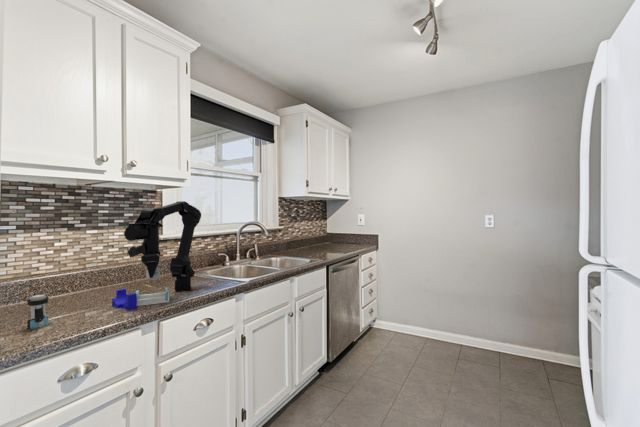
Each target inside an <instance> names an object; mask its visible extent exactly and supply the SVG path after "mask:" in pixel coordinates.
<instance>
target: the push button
mask: <svg viewBox="0 0 640 427" xmlns="http://www.w3.org/2000/svg"><path fill="white" fill-rule="evenodd" d="M49 299H50V297H48V296H46V294H35V295H31V296H30V298H29V299H27V300H26V303H27V306H30V318H29V319H27V323H26V324H27V328H28V329H31V330H34V329H37V328H42V327H44V326H47V325H49V323H50V322H53V321H54V320H52V319H53V317H50V318H49V316H47V314H46V304H48V302H49Z"/></svg>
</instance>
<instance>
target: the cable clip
mask: <svg viewBox="0 0 640 427" xmlns="http://www.w3.org/2000/svg"><path fill="white" fill-rule="evenodd" d="M111 306H112V307H114V308H116V309H121V308H122V309H123V310H126V311H128V312H129V311H132V310H137V308H138V306H137V294H136V293H135V292H133V293H127V289H126V288H120V289H116V290H115V297H113V298H111Z"/></svg>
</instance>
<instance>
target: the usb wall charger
mask: <svg viewBox="0 0 640 427" xmlns="http://www.w3.org/2000/svg"><path fill="white" fill-rule="evenodd" d="M145 278H146V279H148V280H150V281H154V280H159V279H160V278H161V270H160V269H158V268H156V271H155V273H154V276H153V278H150V277H149V273H148V269H147V268H146V270H145Z"/></svg>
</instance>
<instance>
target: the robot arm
mask: <svg viewBox="0 0 640 427" xmlns="http://www.w3.org/2000/svg"><path fill="white" fill-rule="evenodd" d="M175 213H178V215H179V216H181V222H182V224H183V228H182V233H181V238H180V242H179V247H178V251H177V254H176V256H175V257H171V260H170V264H169V271H170V273H171V276H172V278H175V279H174V290H175V291H176V293H177V292H185V291H187V292H188V291H192V288H191V285H192V283H191V281H192V280H191V279H192V278H193V277H194V276H195V271H194V269H193V268H192V266H191V264H192V262H191V259H190V256H189V255H190V252H191V247H192V241H193V238H194V232H195V228H196V227H197V225H198V224H200V221H201V219H202V212H201V211H200V210H199V208H197V207H195V206H193V205H192V204H189V203H188V202H186V201H176V202H173V203H170V204H167V205H163V206H159V207H147V208H143V209H141V211H140V213H139V215H138V217H137V219H136V220H135V222H134V223H133V222H132V223H131V222H129V223H128V226H126V228H125V229H124V232H123V234H124V237H125V239H126V240H127V241H129V242H132V241H133V242H134V241H140V240H141V241H142V243H141V244H140V245H137V246H135V245H133V246H130V247H129V249H128V250H126V251H127V254H128V255H129V256H128V257H129V258H130V259H132V258H134V257H136V256H138V255H141V254H142V255H141V257H140V260H141V263H142V264H144V265H145V266H146V270H147V269H148V273H149V277H150V278H153V276H154V273H155V271H156V269H158V268H157V267H158V266H159V263H160V259H161V252H162V251H161V250H160V228H162V227H164V226H163V224H162V223H160V221H162V220H164V218H165V217H167V216H169V215H172V214H175Z"/></svg>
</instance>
